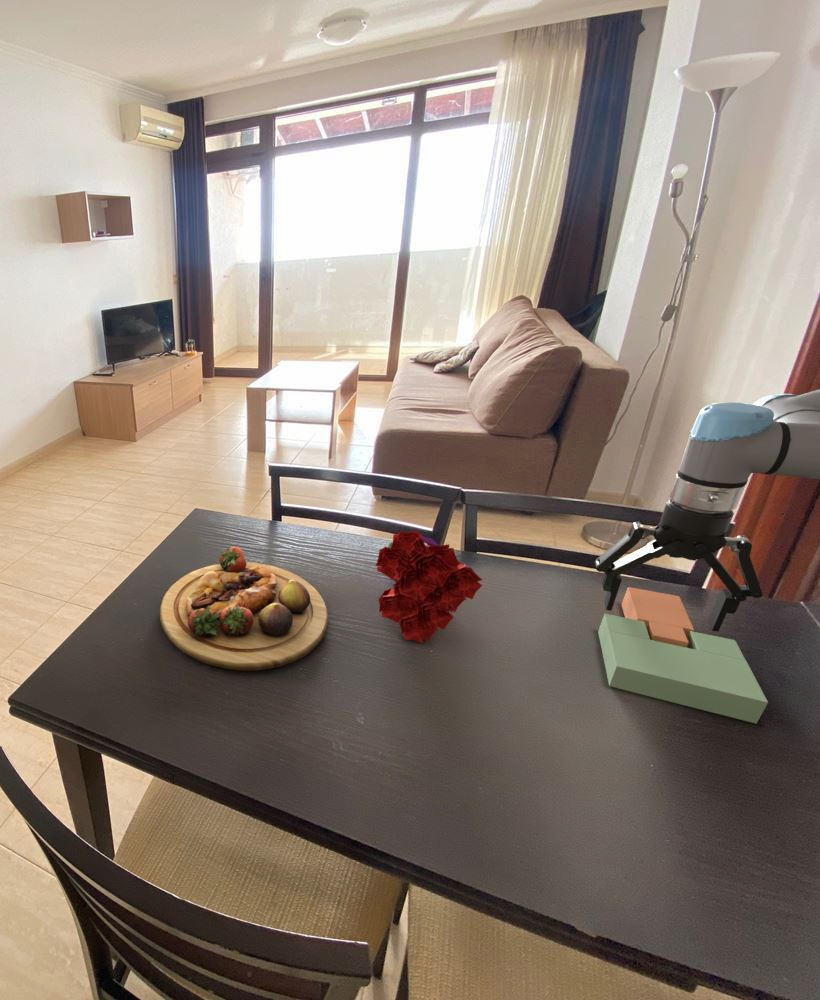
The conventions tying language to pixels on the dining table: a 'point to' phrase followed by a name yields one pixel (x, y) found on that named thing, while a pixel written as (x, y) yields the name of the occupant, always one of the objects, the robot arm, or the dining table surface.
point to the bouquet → (423, 584)
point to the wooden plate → (243, 614)
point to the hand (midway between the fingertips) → (658, 616)
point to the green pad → (681, 669)
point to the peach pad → (659, 615)
